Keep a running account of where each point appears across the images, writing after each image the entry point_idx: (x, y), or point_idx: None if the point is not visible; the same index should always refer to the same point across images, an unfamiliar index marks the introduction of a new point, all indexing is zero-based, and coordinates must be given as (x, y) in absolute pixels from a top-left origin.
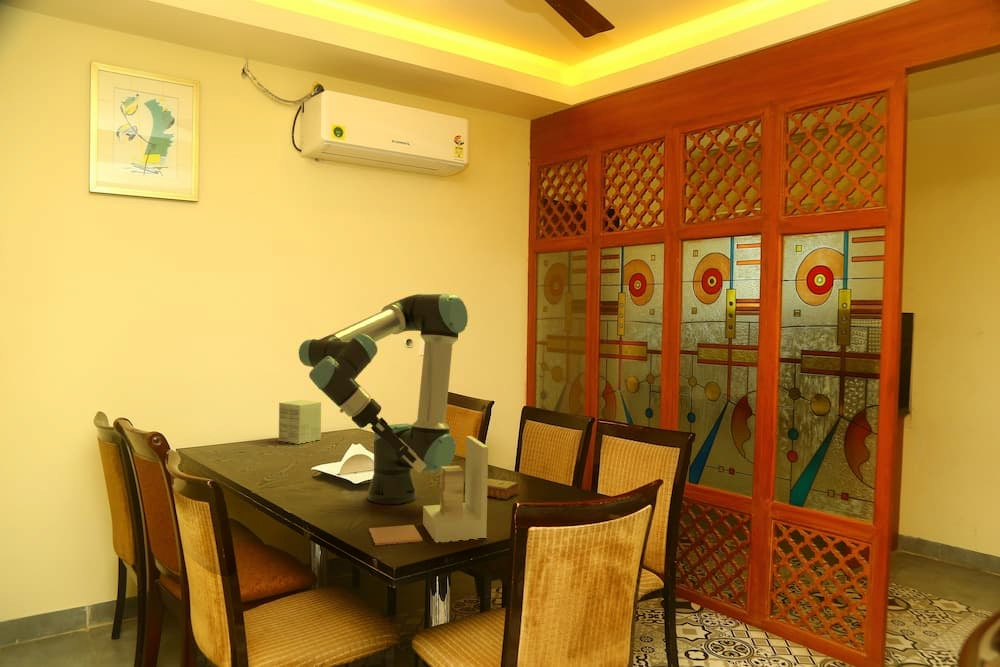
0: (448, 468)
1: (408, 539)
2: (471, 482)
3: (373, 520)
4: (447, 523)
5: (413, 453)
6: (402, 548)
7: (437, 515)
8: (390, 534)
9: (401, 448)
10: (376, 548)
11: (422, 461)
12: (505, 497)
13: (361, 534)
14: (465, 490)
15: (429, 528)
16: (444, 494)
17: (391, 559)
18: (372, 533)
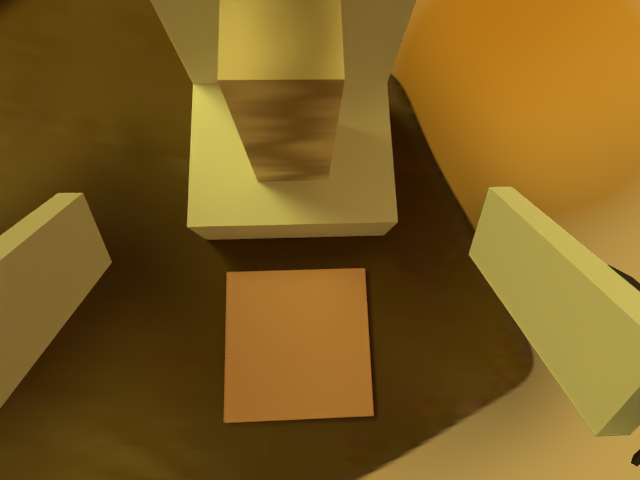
0: (279, 49)
1: (360, 309)
2: None
3: (120, 394)
4: (394, 186)
5: (623, 289)
6: (410, 334)
7: (313, 200)
8: (302, 357)
9: (12, 338)
10: (396, 412)
11: (538, 211)
12: None
13: (257, 450)
14: (180, 51)
15: (301, 234)
16: (324, 146)
17: (491, 377)
18: (280, 416)
